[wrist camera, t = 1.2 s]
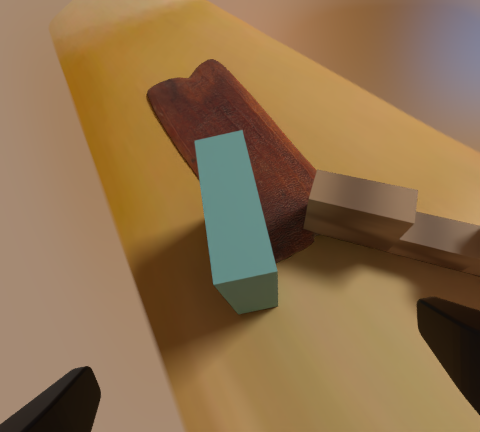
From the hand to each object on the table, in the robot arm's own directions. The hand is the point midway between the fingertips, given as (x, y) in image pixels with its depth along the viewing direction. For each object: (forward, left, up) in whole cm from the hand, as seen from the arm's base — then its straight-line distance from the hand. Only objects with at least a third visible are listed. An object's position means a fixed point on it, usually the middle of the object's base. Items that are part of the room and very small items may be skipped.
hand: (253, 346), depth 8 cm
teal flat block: (+7, +1, -13) cm, 15 cm away
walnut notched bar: (+7, -12, -13) cm, 19 cm away
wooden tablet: (+19, +3, -14) cm, 24 cm away
